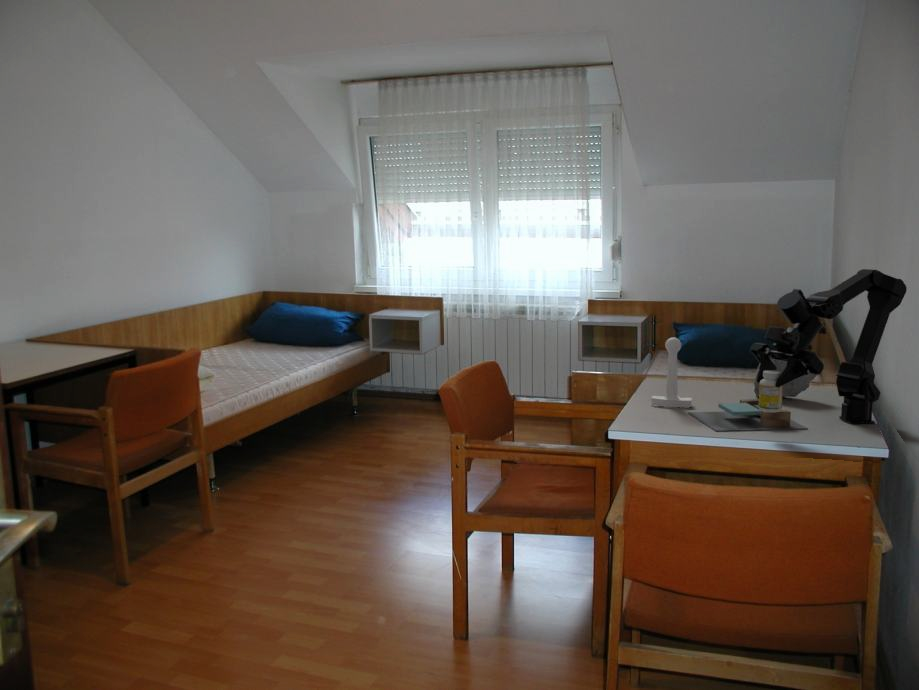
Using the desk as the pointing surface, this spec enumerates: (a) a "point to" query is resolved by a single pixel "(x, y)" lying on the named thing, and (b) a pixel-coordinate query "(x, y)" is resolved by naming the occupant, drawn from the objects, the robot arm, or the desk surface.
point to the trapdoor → (740, 409)
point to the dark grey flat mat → (748, 420)
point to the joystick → (672, 380)
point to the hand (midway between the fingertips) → (767, 384)
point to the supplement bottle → (770, 392)
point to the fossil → (791, 387)
